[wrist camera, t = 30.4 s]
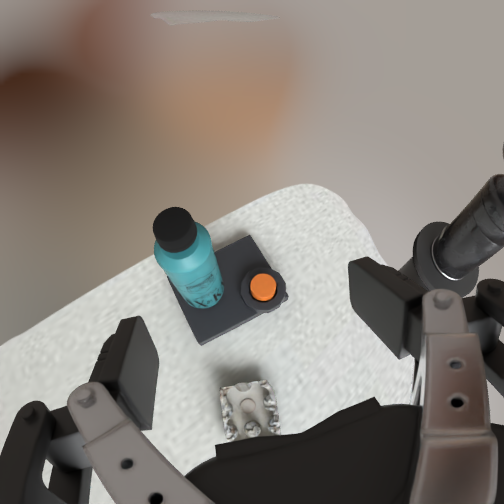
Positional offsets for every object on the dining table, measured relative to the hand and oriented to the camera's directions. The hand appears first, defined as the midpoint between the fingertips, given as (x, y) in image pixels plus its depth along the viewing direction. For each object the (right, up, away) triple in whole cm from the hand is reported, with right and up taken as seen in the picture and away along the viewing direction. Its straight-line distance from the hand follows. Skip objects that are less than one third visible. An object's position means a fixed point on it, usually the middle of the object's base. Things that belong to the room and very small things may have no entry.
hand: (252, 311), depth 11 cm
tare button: (+2, -3, +32) cm, 32 cm away
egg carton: (0, -21, +27) cm, 35 cm away
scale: (-4, -4, +36) cm, 36 cm away
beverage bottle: (-7, -4, +34) cm, 35 cm away
